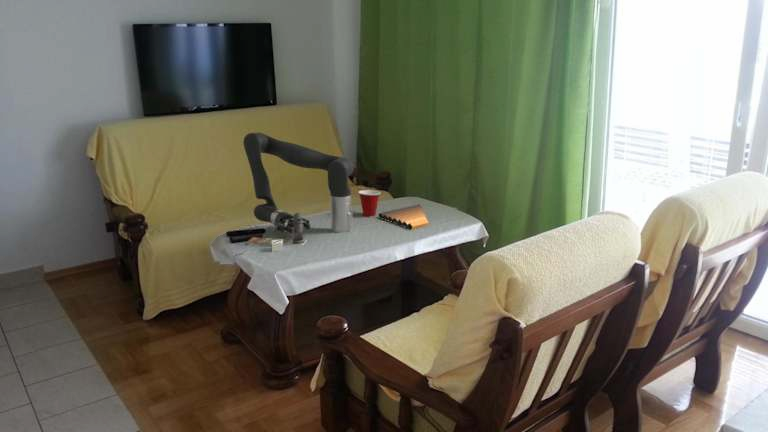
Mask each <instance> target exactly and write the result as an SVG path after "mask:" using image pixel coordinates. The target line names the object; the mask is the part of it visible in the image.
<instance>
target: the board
mask: <svg viewBox="0 0 768 432" xmlns="http://www.w3.org/2000/svg"><path fill="white" fill-rule="evenodd" d="M282 239H283V245H284V244H285V245H295V244H294V243H293V239H294V238H271V237H268V238H267V237H256V236H252V237H251V238H249V239H248V240H247V241H246V242H245V245H246V246H249V244H251V243H261V244H272V240H282ZM307 242H308V240H307V239H305V242H304V243H302V244H298V245H302V246H303V245H305V244H306V243H307Z"/></svg>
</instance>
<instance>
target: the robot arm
mask: <svg viewBox="0 0 768 432" xmlns="http://www.w3.org/2000/svg"><path fill="white" fill-rule="evenodd" d="M243 147H244V150H245V154H246V157H247V160H248V164H249V168H250V172H251V175H252V180H253V187H254V193H255V198H256V199H258V200H264V201H265V202H266V203H262V204H257V205H256V206H254V209H253V215H254V217H255V218H256V219H257V220H258V221H261V222H265V223H270V224H273V225H274V229H275V231H278V232H279V233H282V232H286V233H290V234H293V229H294V223H293V220H294V219H293V216H294V215H292V214H291V213H289V212H287V211H284V210H282V209H279V208H277V207H278V206H277V205H276V203H275V200H274V197H273V195H272V191H271V184H270V180H269V175H268V174H267V171H266V170H265V167H264V164H263V160H262V154H267V155H270V156H274V157H277V158H279V159H281V160H282V161H284V162H286V163H287V164H290V165H293V166H295V167H299V168H304V169H312V170H313V169H316V170H317V169H318V170H323V171H326V172H327V186H328V187H327V188H328V190H329V193H330V194H329V198H330V199H329V200H330V229H331V232H334V233H341V234H342V233H350V232H351V231H353V229H354V227H353V225H354V223H353V222H354V221H353V216H354V215H353V209H352V189H351V188H350V187H349V180H348V179H349V177H350V176H351V175H352V174H353V173H354V169H355V167H354V164H353V163H352V161H350V160H349V159H348V158H346V157H342V156H337V155H332V154H327V153H324V152H321V151H318V150H316V149H312V148H310V147H305V146H303V145H299V144H297V143H293V142H288V141H282V140H280V139H279V140H278V139H276V138H275V137H271V136H269V135H267V134H265V133H263V132H249V133H247V134H246V135H245V136H244V138H243ZM302 220H303V222H302V226H303V228H304V229H305V230H310V229H311V224H310V219H307V218H305V217H302Z"/></svg>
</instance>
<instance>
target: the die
mask: <svg viewBox="0 0 768 432" xmlns="http://www.w3.org/2000/svg"><path fill="white" fill-rule="evenodd" d="M281 239H282V240H272V243H271V250H272V252H284V244H283V239H284V238H281Z"/></svg>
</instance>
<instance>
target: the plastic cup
mask: <svg viewBox="0 0 768 432" xmlns="http://www.w3.org/2000/svg"><path fill="white" fill-rule="evenodd" d="M358 194H359V198H360V204H361V209H362V213H363V214H362V215H363V216H364V217H366V216H372V217H375V216H376V212H377V208H378V203H379V202H378V201H379V198H380V195H381V191H379V190H372V189H371V190H370V189H367V190H359V191H358ZM374 215H375V216H374Z"/></svg>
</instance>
